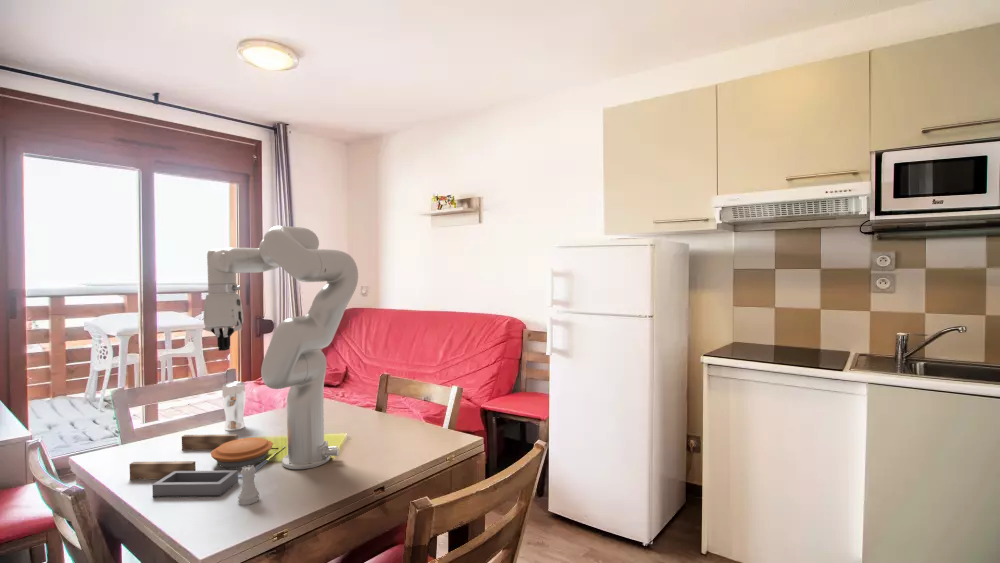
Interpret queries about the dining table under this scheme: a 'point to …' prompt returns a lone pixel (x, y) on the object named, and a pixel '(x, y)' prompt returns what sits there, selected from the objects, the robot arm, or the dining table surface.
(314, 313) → the robot arm
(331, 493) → the dining table surface
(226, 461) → the pie
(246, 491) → the rook chess piece
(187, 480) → the grey tray
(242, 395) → the beer glass
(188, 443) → the channel walls
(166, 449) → the dining table surface
